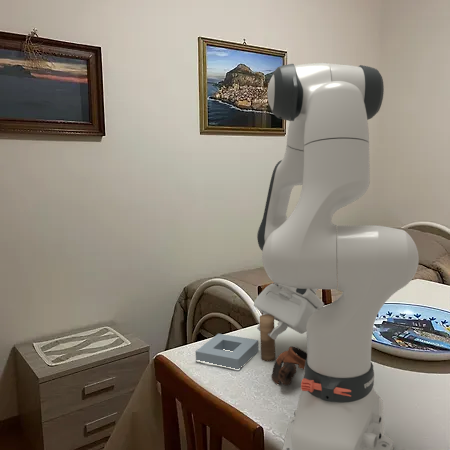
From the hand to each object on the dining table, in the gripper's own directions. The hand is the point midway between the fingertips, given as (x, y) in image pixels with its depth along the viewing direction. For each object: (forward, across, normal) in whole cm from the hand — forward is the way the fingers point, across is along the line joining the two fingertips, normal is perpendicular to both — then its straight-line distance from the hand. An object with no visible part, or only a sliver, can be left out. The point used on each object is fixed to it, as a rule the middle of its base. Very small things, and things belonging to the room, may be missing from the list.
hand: (265, 334), depth 114 cm
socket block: (+10, -6, -1) cm, 12 cm away
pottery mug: (+6, +12, +4) cm, 14 cm away
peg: (+4, 0, +5) cm, 7 cm away
